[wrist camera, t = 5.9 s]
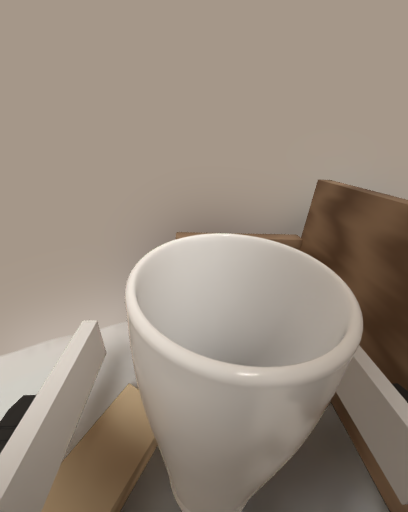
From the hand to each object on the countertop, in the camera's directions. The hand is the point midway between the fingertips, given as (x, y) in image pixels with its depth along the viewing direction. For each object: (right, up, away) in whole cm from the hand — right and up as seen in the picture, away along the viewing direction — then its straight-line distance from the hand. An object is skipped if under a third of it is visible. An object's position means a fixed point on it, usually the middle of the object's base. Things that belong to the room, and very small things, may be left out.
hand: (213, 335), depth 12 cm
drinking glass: (0, -9, +1) cm, 9 cm away
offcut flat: (-7, -9, +1) cm, 11 cm away
